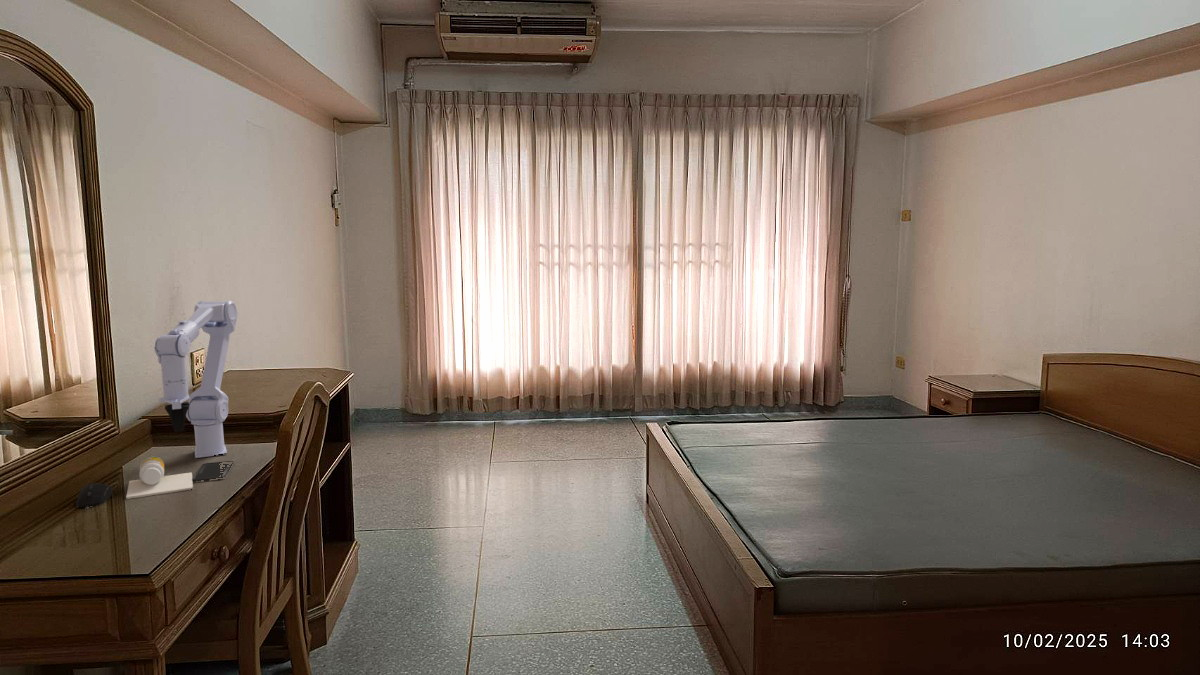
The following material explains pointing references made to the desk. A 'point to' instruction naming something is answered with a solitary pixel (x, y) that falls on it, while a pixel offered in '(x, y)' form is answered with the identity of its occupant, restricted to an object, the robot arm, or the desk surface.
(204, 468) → the phone
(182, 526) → the desk surface
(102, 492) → the gaming mouse
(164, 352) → the robot arm
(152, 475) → the supplement bottle
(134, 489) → the sticky note pad
